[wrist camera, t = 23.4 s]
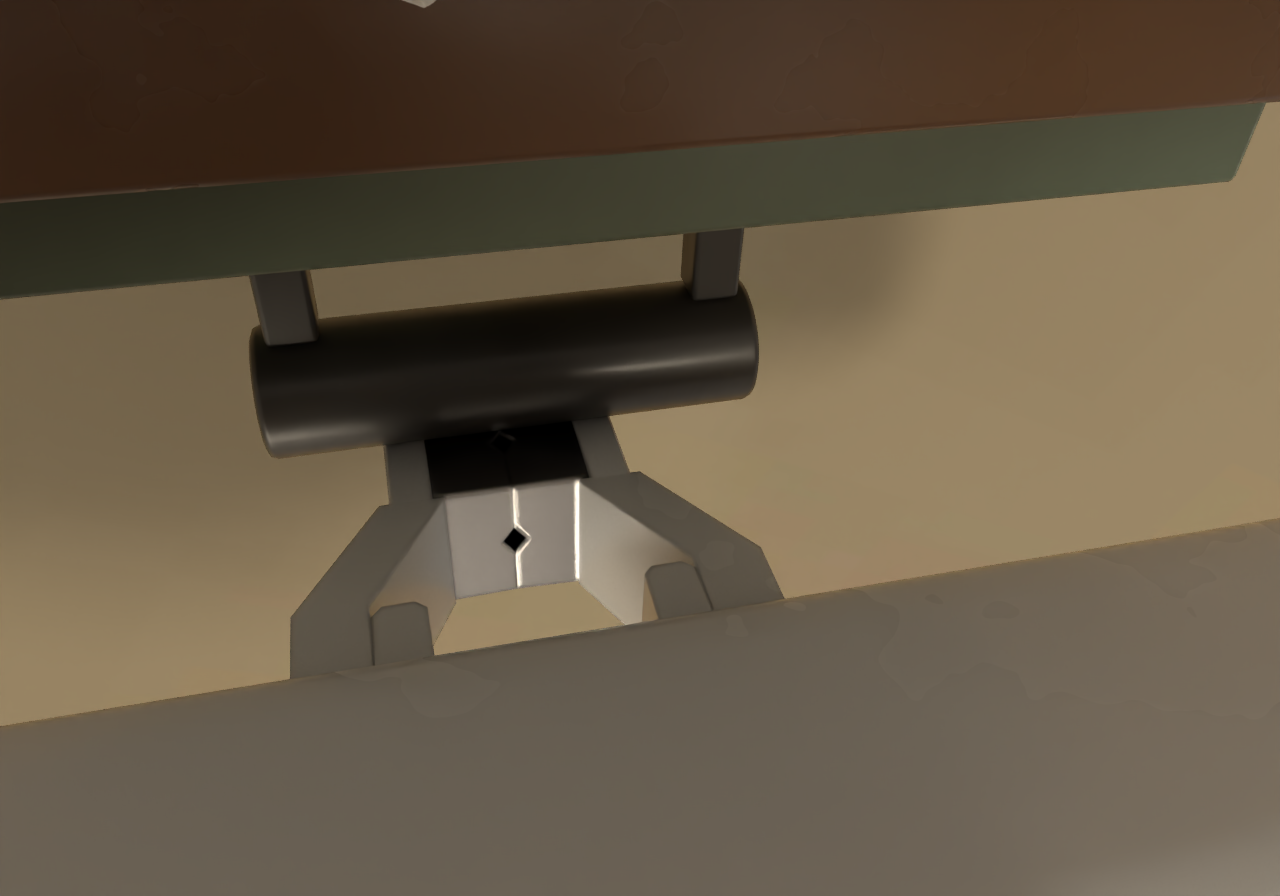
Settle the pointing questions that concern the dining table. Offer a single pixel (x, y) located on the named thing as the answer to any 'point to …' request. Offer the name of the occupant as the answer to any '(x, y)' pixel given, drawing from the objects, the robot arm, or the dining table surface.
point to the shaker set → (421, 2)
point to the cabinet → (568, 79)
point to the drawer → (554, 216)
